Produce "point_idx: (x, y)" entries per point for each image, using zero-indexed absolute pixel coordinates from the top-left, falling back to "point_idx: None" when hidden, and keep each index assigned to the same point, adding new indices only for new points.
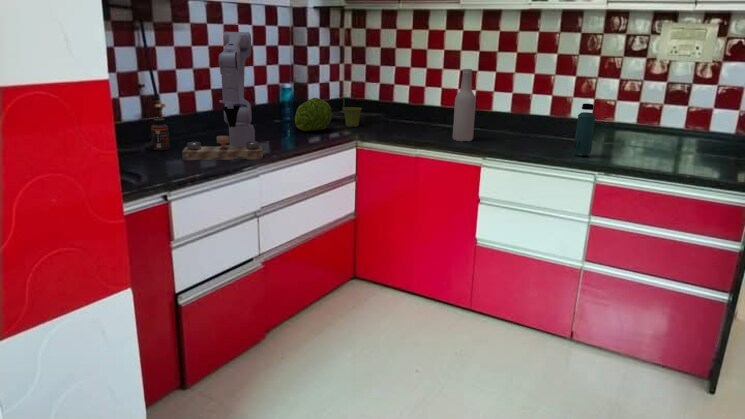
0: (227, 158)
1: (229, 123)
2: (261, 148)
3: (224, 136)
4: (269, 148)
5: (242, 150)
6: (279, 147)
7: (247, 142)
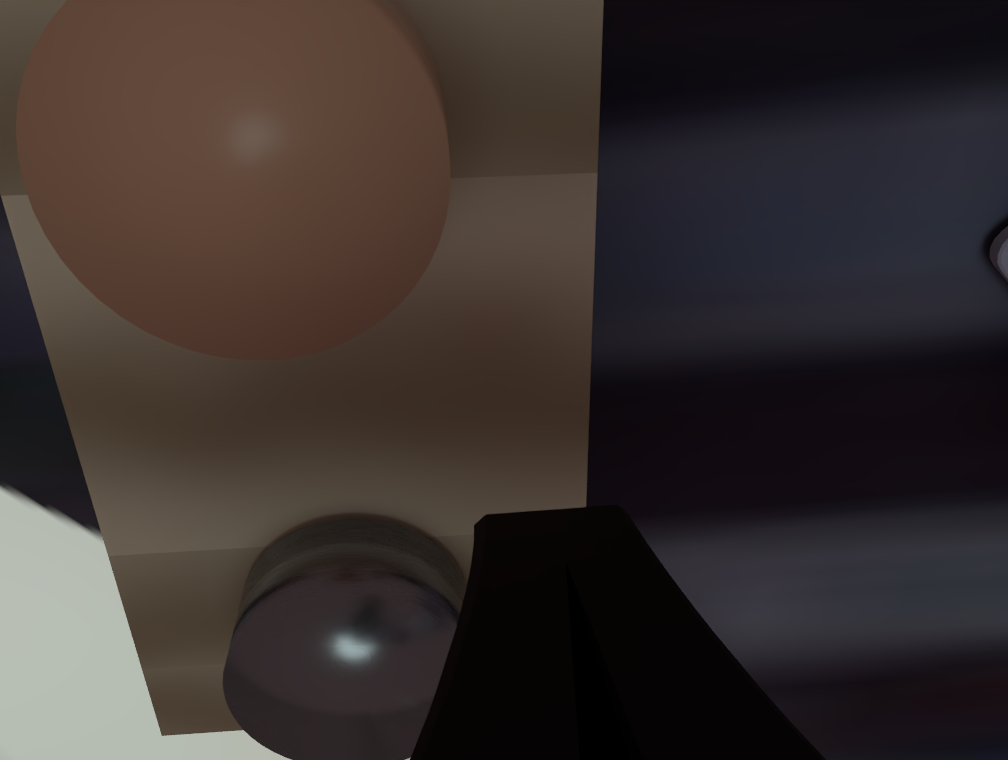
0: None
1: (466, 622)
2: None
3: (288, 215)
4: (972, 643)
5: (149, 471)
6: (1003, 735)
7: (340, 616)
